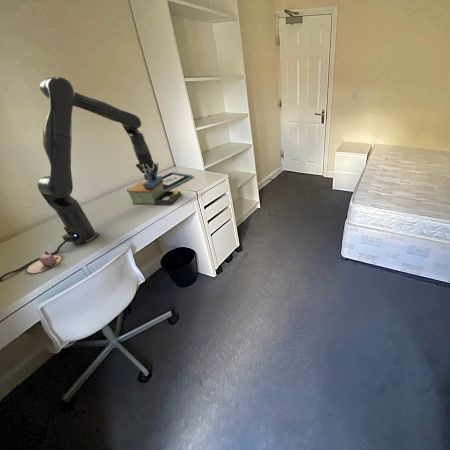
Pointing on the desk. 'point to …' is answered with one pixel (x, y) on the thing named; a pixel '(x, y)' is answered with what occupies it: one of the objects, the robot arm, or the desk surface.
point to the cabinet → (145, 194)
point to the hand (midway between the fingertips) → (152, 179)
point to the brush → (152, 181)
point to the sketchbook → (174, 180)
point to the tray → (167, 194)
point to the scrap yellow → (174, 193)
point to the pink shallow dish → (44, 263)
